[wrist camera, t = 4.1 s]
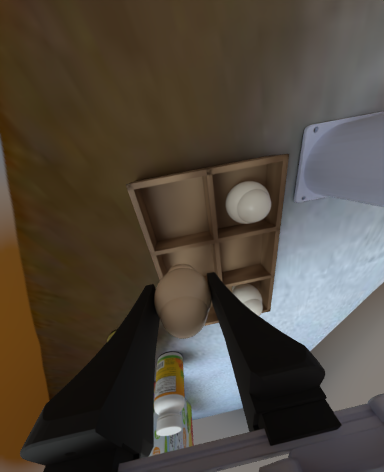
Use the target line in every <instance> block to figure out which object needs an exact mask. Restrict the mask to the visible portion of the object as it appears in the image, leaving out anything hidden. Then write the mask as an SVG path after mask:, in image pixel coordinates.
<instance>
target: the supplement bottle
mask: <svg viewBox="0 0 384 472" xmlns="http://www.w3.org/2000/svg"><path fill="white" fill-rule="evenodd" d="M184 404H185V394H184V373H183V357H182V355H181V354H179V353H176V352H169V353H165V354H163V355H161V356H160V357H159V358H158V362H157V374H156V386H155V398H154V410H155V412H156V413H157V414H158V415H159V418H158V419H157V428H156V434H157V435H159V436H169V435H173V434H176V433H178V432H180V431H181V429H182V422H181V415H180V411H181V410H182V409H183V407H184Z"/></svg>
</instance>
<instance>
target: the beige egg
mask: <svg viewBox="0 0 384 472" xmlns="http://www.w3.org/2000/svg"><path fill="white" fill-rule="evenodd" d="M211 300H212V298H211V290H210V287H209V284H208V282H207V281H206V279H205V278H204V277H203V276H202V275H201V274H200V273H199V272H197V271H195V269H194V268H193V267H192V266H190V265H188V264H177V265H174V266H173V267H171V268H170V269H169V271H168V273H167V274H166V275H165V276H163V278H162V279H161V280H160V282H159V283H158V285H157V287H156V290H155V295H154V304H155V309H156V312H157V314H158V316H159V318H160V319H161V322H162V324H163V326H164V328H165V329H166V331H167V332H168V333H169V334H171V335H172V336H174V337H176V338H180V339H186V338H190V337H193V336H195V335H196V334H198V333H199V332H200V331H201V330H202V328H203V327H204V325H205V323H206V320H207V315H208V312H209V310H210V307H211Z"/></svg>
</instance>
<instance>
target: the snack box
mask: <svg viewBox="0 0 384 472" xmlns="http://www.w3.org/2000/svg"><path fill="white" fill-rule="evenodd" d="M155 386H156V382H154V398H155ZM180 415H181V422H182V429H181V431H180V432H178V433H176V434H173V435H169V436H159V435H157V434H156V428H157V419H158V418H159V415H158V414H157V413H156V412H155V410H154V447H153V449H152V451H151V453H150V455H149V456H153V455H158V454H162V453H166V452H170V451H174V450H178V449H182V448H186V447H191V446H194V445H193V431H192V413H191V405H190V404H189V403H188V402H187V401H186V400H185V404H184V407H183V409H182V410H181V411H180ZM149 456H148V457H149Z"/></svg>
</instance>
